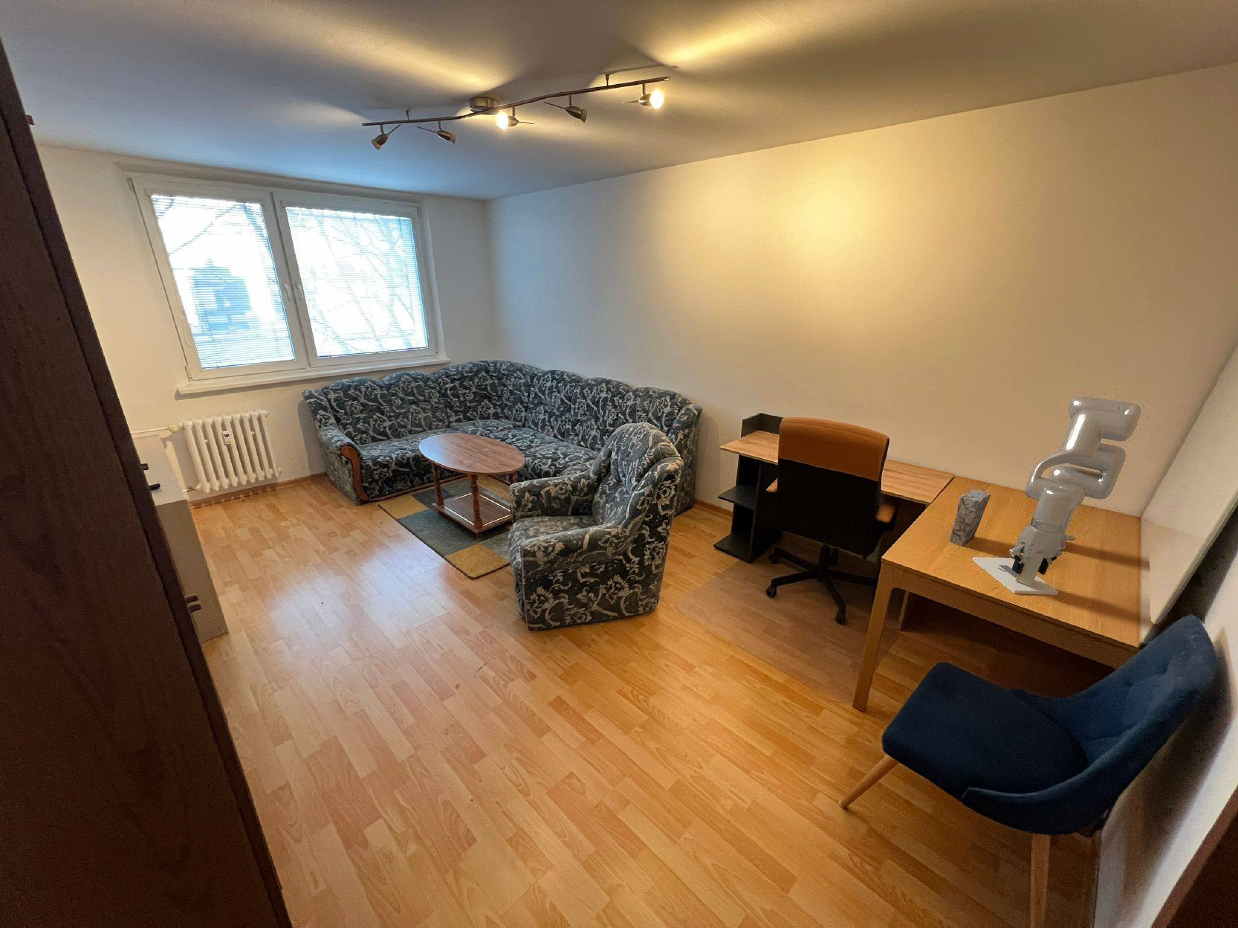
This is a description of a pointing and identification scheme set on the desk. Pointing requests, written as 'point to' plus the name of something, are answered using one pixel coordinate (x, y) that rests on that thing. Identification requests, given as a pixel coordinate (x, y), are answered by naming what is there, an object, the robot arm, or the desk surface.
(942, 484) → the desk surface
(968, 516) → the stone block
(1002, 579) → the board
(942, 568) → the desk surface
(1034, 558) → the skincare box
